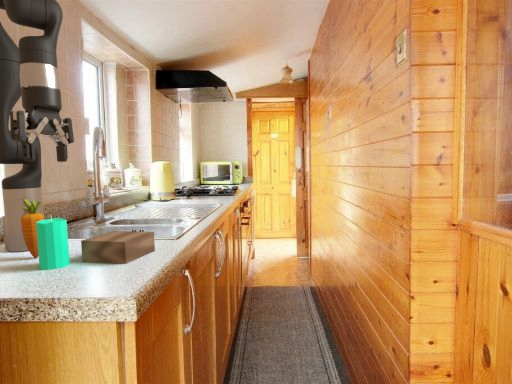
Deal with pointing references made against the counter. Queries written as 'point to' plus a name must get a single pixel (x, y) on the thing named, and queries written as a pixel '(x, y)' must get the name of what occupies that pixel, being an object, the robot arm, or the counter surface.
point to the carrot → (31, 226)
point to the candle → (52, 243)
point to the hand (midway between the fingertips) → (46, 161)
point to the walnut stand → (117, 247)
